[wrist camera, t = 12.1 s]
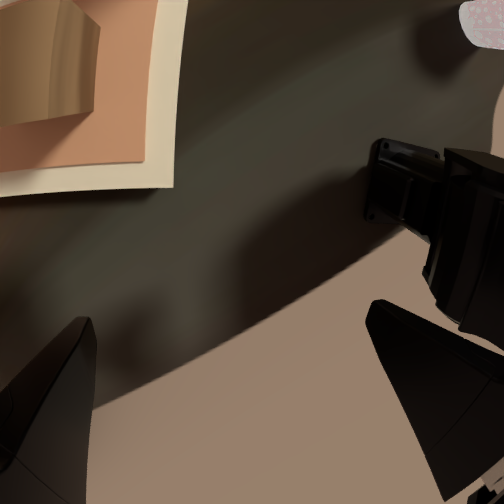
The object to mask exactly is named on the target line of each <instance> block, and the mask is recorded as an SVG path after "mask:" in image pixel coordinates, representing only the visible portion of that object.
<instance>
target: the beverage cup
mask: <svg viewBox="0 0 504 504" xmlns="http://www.w3.org/2000/svg"><path fill="white" fill-rule="evenodd" d="M459 19H460V23H461V26H462V29H463V31H464V33H465V35H466V37H467V38H468V39H469V40H470V41H471V43H473V44H474V45H476V46H478V47H487V48H494V49H501V50H504V0H475V1H470V2H464V3H463V4H462V5H461V6H460V9H459Z"/></svg>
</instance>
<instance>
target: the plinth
mask: <svg viewBox="0 0 504 504" xmlns="http://www.w3.org/2000/svg"><path fill="white" fill-rule="evenodd" d="M25 1H28V0H0V10H1V9H4V8H6V7H9V6H12V5H15V4H18V3H22V2H25ZM72 1H73V2H74V3H75V4H76V5H77V6H78V7H79V8H80V9H82V10H83V11H84V12H85V13H86V14H87V15H88V16H89V17H90V18H91V19H93V20H94V21H95V22H96V23H97V24H98V25H99V26H100V27H101V30H100V37H99V45H98V54H97V65H96V77H95V93H94V111H91V112H84V113H78V114H72V115H67V116H61V117H56V118H51V119H45V120H38V121H32V122H26V123H20V124H15V125H10V126H5V127H0V197H5V196H15V195H26V194H38V193H50V192H65V191H81V190H101V189H128V188H173V178H174V148H175V127H176V111H177V97H178V84H179V73H180V62H181V53H182V43H183V35H184V27H185V19H186V12H187V5H188V0H72Z"/></svg>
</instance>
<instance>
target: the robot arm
mask: <svg viewBox="0 0 504 504" xmlns="http://www.w3.org/2000/svg"><path fill="white" fill-rule="evenodd" d="M384 143H386V146H385V147H384V146H383V145H384ZM434 156H435V157H434ZM444 157H445V161H442V160H440V154H439V152H437V151H435V150H431V149H427V148H424V147H420V146H416V145H412V144H408V143H404V142H400V141H395V140H391V139H386V138H381V139H380V140H379V141H378V145H377V151H376V156H375V162H374V166H373V171H372V176H371V181H370V186H369V191H368V196H367V197H368V198H367V202H366V207H365V212H364V219H365V220H366V221H367V222H369V223H386V224H401V225H403V226H404V227H405V228H407V229H408V230H410V231H411V232H413V233H414V234H416V235H417V236H419V237H420V238H421V239H423V240H424V241H425V242H427V243H428V244H430V248H429V253H428V257H427V261H426V265H425V266H424V268H423V271H422V275H423V277H424V278H425V280H426V282H427V284H428V285H429V289H430V291H431V292H432V294H433V295H434V297H435V299H436V304H435V305H436V306H437V308H438V309H439V310H440V311H441V312H442V313H443V314H444V315H446V316H447V317H448V318H449V319H450V320H452V321H453V322H455V323H456V324H458V325H459V327H458V330H459V331H460V332H464V333H468V334H473V335H477V336H479V337H481V338H483V339H486V340H488V341H489V342H491V343H493V344H494V345H496V346H497V347H499V348H500V349H502V350H503V351H504V158H500V157H498V156H495V155H492V154H489V153H485V152H479V151H471V150H463V149H454V148H444ZM371 214H372V216H371V217H370V218H369V216H370V215H371ZM365 324H366V327H367V330H368V332H369V335H370V337H371V340H372V342H373V345H374V347H375V350H376V353H377V355H378V358H379V360H380V362H381V364H382V366H383V368H384V370H385V372H386V374H387V376H388V378H389V380H390V382H391V384H392V386H393V388H394V390H395V392H396V394H397V397H398V398H399V401H400V403H401V405H402V407H403V409H404V411H405V413H406V415H407V418H408V420H409V422H410V424H411V426H412V428H413V430H414V433H415V435H416V437H417V439H418V441H419V444H420V446H421V448H422V451H423V453H424V455H425V458H426V460H427V462H428V465H429V467H430V469H431V472H432V474H433V477H434V479H435V481H436V484H437V486H438V489H439V491H440V494H441V496H442V498H443V500H444V502H446V501H447V500H449V499H450V498H452V497H453V496H455V495H456V494H458V493H459V492H460V491H462V490H463V489H465V488H466V487H467V486H469V485H470V484H471V483H473V482H474V481H475V480H477V479H478V478H479V477H481V479H482V480H483V482H484V483H485V484H484V485H483V486H481V487H480V488H479V489H478V490H476V491H475V492H474V493H473V494H471V495H470V496H469V497H468V501H467V504H504V356H502V355H500V354H498V353H495V352H493V351H491V350H488V349H486V348H484V347H482V346H479V345H477V344H475V343H473V342H471V341H469V340H467V339H464V338H463V337H461V336H459V335H457V334H455V333H453V332H450V331H448V330H446V329H444V328H442V327H440V326H438V325H436V324H434V323H432V322H430V321H428V320H426V319H424V318H422V317H420V316H417V315H415V314H413V313H411V312H409V311H407V310H405V309H403V308H401V307H399V306H397V305H395V304H393V303H390V302H388V301H386V300H383V299H380V300H374V301H373V302H372V303H371V306H370V308H369V311H368V314H367V317H366V321H365ZM96 351H97V340H96V336H95V332H94V328H93V324H92V321H91V319H90V318H89V317H76V318H75V319H74V320H73V321H72V322H71V323H70V324H69V325H67V326H66V327H65V328H64V329H63V330H62V331H61V332H60V333H59V334H58V335H57V336H56V337H55V338H54V339H53V340H52V341H51V342H50V343H49V344H48V345H47V346H46V347H45V348H43V349H42V350H41V351H40V352H39V353H38V354H37V355H36V356H35V357H34V358H33V359H32V360H31V361H30V362H29V363H28V364H27V365H26V366H25V367H24V368H23V369H22V371H21V372H20V373H19V374H18V375H17V376H16V377H15V378H14V379H13V380H12V381H11V382H10V383H9V384H8V386H6V387H5V388H4V389H3V390H2V391H1V392H0V504H86V478H87V459H88V445H89V433H90V423H91V415H92V407H93V400H94V391H95V369H96Z"/></svg>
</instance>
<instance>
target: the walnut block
mask: <svg viewBox="0 0 504 504" xmlns="http://www.w3.org/2000/svg"><path fill="white" fill-rule="evenodd" d="M100 30H101V27H100V26H99V25H98V24H97V23H96V22H95V21H94V20H93V19H91V18H90V17H89V16H88V15H87V14H86V13H85V12H84V11H83V10H82V9H80V8H79V7H78V6H77V5H76V4H75V3H74V2H73V1H72V0H28V1H25V2H22V3H18V4H15V5H12V6H9V7H6V8H4V9H1V10H0V127H5V126H10V125H15V124H20V123H26V122H32V121H38V120H45V119H51V118H56V117H61V116H67V115H72V114H78V113H84V112H91V111H94V93H95V77H96V65H97V54H98V45H99V37H100Z"/></svg>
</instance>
